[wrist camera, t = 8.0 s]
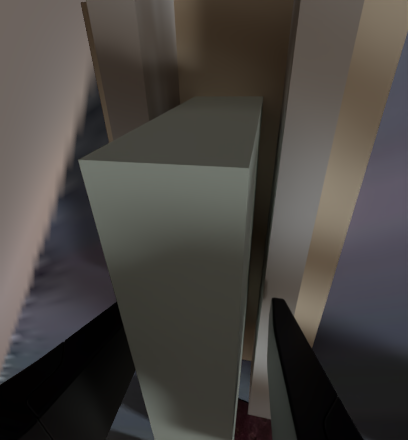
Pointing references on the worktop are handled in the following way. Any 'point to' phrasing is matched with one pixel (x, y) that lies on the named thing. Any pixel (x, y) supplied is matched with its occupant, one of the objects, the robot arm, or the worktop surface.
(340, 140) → the track
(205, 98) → the rectangular block
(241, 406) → the vegetable
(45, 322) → the worktop surface
